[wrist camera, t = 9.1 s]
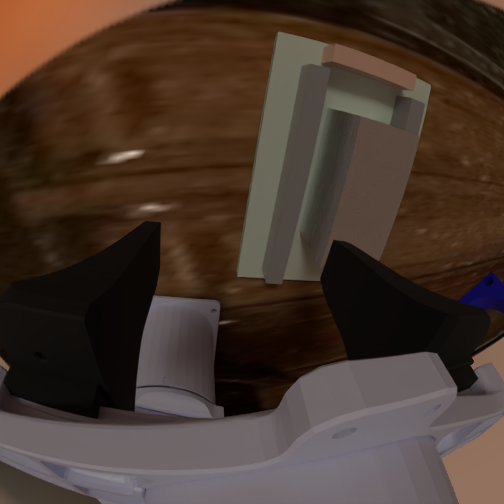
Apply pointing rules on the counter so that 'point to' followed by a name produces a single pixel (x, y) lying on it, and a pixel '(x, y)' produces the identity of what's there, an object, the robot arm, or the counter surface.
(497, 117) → the counter surface
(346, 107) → the drive tray
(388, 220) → the block
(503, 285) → the cable clip
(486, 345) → the counter surface
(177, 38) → the counter surface
